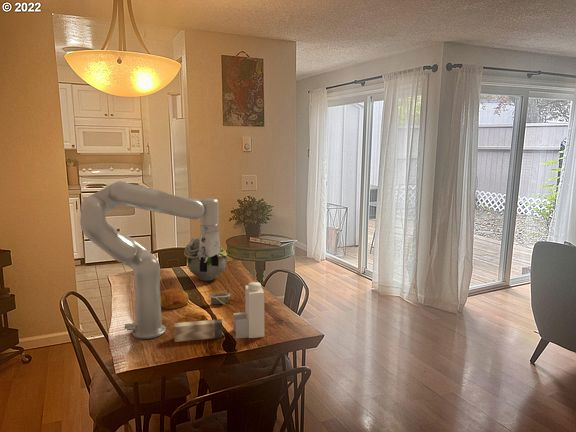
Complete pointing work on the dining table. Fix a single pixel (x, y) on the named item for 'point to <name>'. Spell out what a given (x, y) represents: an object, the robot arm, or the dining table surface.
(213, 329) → the rail
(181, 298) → the croissant
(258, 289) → the post
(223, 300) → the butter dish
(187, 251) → the flower arrangement
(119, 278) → the dining table surface
